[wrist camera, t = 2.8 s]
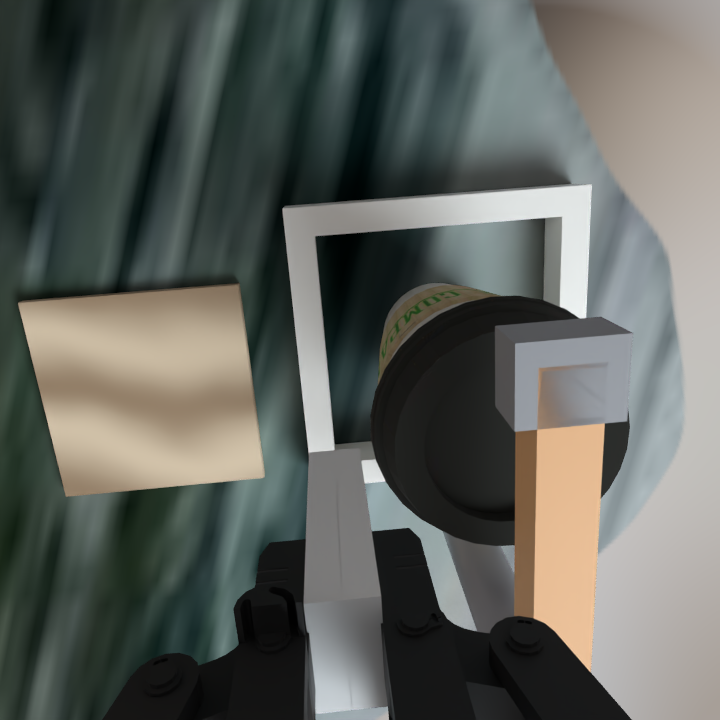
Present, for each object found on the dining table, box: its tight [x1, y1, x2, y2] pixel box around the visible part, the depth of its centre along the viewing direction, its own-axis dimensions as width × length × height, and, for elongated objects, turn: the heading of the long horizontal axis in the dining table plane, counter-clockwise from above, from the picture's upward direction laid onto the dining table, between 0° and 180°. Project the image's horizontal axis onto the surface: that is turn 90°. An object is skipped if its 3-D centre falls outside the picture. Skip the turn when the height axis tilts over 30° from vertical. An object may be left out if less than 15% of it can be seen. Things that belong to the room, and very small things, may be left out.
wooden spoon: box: [495, 317, 633, 672], centre depth 18 cm, size 16×4×2 cm, turn 4°
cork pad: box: [18, 283, 265, 497], centre depth 35 cm, size 12×12×1 cm
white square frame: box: [282, 184, 592, 633], centre depth 28 cm, size 18×16×18 cm
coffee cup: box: [371, 283, 630, 546], centre depth 28 cm, size 10×10×15 cm
